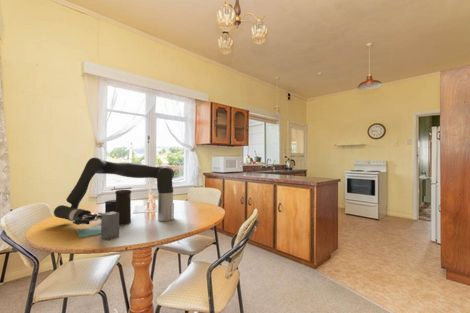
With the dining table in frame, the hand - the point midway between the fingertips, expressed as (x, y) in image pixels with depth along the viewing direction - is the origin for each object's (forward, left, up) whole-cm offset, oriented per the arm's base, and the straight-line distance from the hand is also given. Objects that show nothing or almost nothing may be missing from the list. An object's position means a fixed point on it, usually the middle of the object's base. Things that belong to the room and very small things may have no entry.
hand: (97, 220), depth 117 cm
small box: (+3, -27, -7) cm, 28 cm away
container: (-4, -19, -7) cm, 20 cm away
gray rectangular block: (-9, +5, -7) cm, 13 cm away
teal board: (+4, -3, -7) cm, 8 cm away
